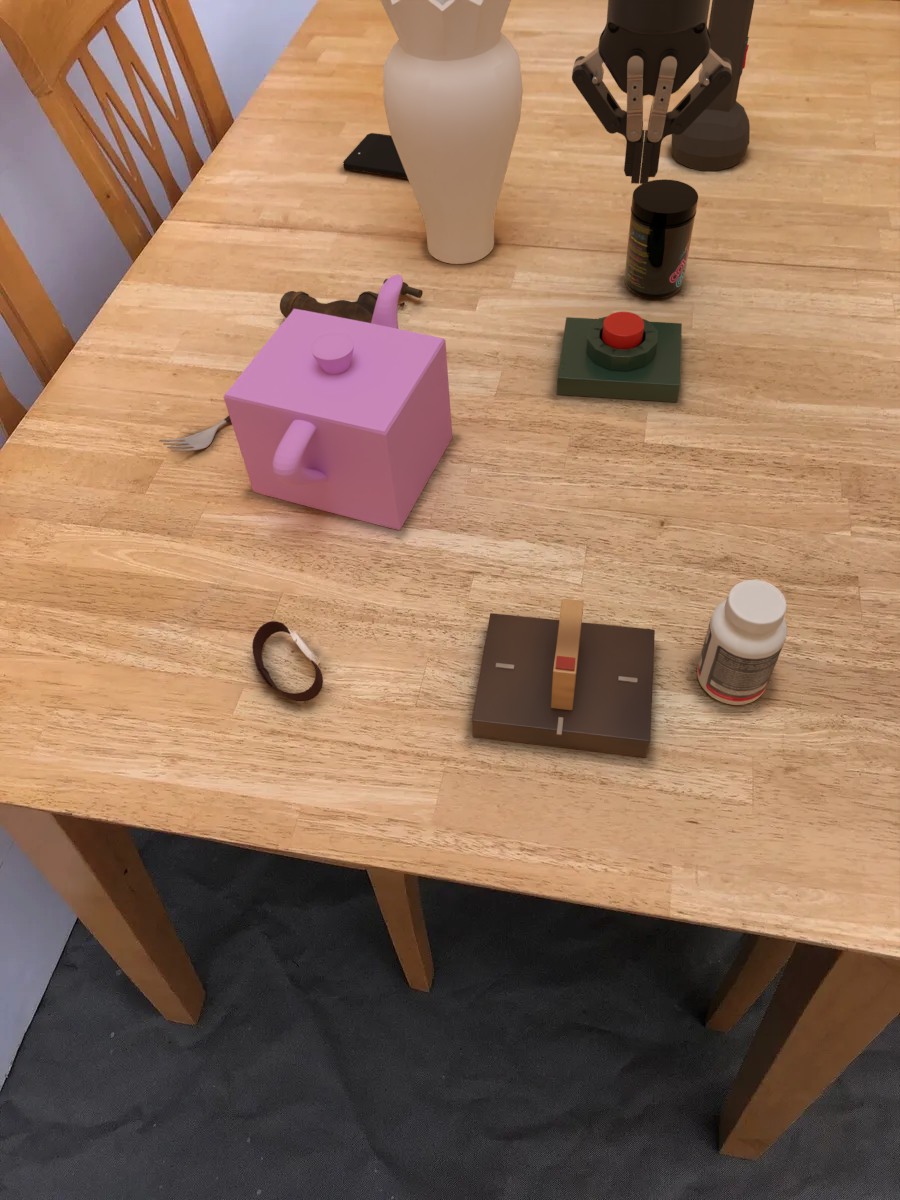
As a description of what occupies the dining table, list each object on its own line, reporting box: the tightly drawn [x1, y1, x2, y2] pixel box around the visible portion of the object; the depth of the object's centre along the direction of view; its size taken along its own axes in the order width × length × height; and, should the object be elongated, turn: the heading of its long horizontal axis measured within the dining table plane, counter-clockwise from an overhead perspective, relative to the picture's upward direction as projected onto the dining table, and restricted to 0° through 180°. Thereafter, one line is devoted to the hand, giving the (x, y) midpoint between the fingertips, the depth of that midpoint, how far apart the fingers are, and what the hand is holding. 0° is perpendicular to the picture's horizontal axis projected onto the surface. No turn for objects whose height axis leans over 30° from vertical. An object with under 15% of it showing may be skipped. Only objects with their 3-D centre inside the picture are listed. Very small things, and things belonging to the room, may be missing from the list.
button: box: [602, 311, 644, 350], centre depth 92 cm, size 4×4×2 cm
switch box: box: [556, 315, 683, 403], centre depth 94 cm, size 12×10×4 cm
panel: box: [471, 612, 656, 758], centre depth 71 cm, size 13×11×3 cm
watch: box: [251, 620, 324, 703], centre depth 73 cm, size 8×5×4 cm, turn 35°
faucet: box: [279, 278, 424, 323], centre depth 100 cm, size 5×17×15 cm
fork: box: [158, 415, 231, 453], centre depth 93 cm, size 3×16×2 cm, turn 135°
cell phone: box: [342, 132, 408, 180], centre depth 123 cm, size 9×18×1 cm, turn 68°
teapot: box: [223, 274, 453, 531], centre depth 84 cm, size 15×25×14 cm, turn 158°
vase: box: [380, 0, 524, 265], centre depth 100 cm, size 15×15×29 cm
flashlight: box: [671, 0, 755, 172], centre depth 111 cm, size 10×25×10 cm
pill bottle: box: [696, 579, 788, 706], centre depth 68 cm, size 5×5×10 cm
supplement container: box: [623, 178, 699, 300], centre depth 100 cm, size 7×7×10 cm
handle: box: [551, 598, 585, 710], centre depth 68 cm, size 6×2×5 cm, turn 170°
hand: (639, 179), depth 80 cm, fingers closed
